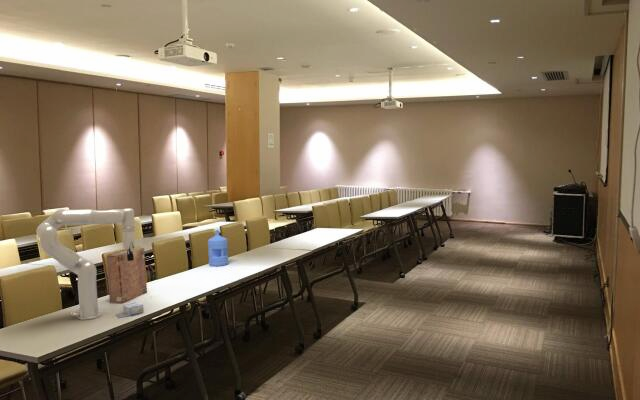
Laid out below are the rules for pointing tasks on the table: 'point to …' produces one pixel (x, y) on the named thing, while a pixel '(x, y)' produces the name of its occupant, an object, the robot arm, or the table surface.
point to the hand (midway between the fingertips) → (130, 260)
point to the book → (126, 276)
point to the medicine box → (133, 308)
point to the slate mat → (124, 315)
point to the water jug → (217, 250)
